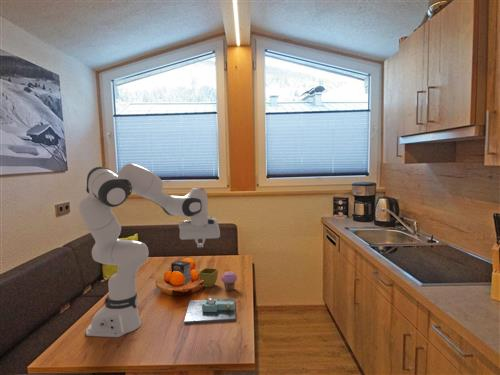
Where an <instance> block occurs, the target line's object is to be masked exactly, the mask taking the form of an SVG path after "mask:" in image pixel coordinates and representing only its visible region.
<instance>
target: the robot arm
mask: <svg viewBox="0 0 500 375" xmlns="http://www.w3.org/2000/svg"><path fill="white" fill-rule="evenodd" d="M163 184H164V183H163V180H162V179H161V178H160V177H159V176H158V174H155V173H154V172H152V171H151V170H149V169H147V168H146V167H143V166H141V165H138V164H135V163H132V162H131V163H126V164H125V165H123V166H122V167H121V168H120V170H118V172H115V173H114V172H113V171H112V170H111V169H110V168H107V167H104V166H96V167H94V168H92V169H90V170H89V172H88V173H87V177H86V190H85V191H86V192H87V194H88V196H87V197H85V198H83V199H82V200H81V201H80V203H79V205H78V209H79V210H78V211H79V214H80V215H81V218H82V221H83V222H84V225H85V226H86V228H87V229H88V231H89V232H90V234H91V236H92V237H93V239H94V241H95V242H94V245H93V246H92V249H91V257H92V259H93V261H95V262H97V263H99V264H103V265H108V266H109V265H110V266H116V267H117V269H116V270H117V272H115V273H114V274H112V275H111V276H110V277H109V279H108V280H107V283H108V294H107V295H106V297H105V299H104V301H103V305H104V306H102V307H101V308H100V309H98V310H97V312H95V314H94V315H93V317H92V319H91V323H90V324H89V325H88V326H87V327H86V330H85V335H86V336H87V337H103V338H104V337H105V338H107V337H108V338H121V337H123V336H124V335H126V334H128V333H132V332H133V331H135V330H136V329H137V330H138V328H139V327H141V325H142V321H141V318H140V315H139V311H138V303H139V302H138V294H137V292H136V291H137V290H136V276H137V273H138V270H139V268H140V267H142V265H144V264H145V263H146V262H147V259H148V258H149V254H150V253H149V247H148V246H147V244H146V243H145V242H142V241H138V240H133V239H131V240H130V239H121V238H119V236H120V234H121V232H122V225H121V224H120V221H118V218H117V217H116V215H115V213H114V211H113V210H112V208H116V207H119V206H121V205H122V204H124V203H125V202H126V201H127V199H128V198H129V196H130V195H131V194H132V193H134V194H136V195H138V196H140V197H142V198H144V199H147V200H149V201H151V202H153V203H154V204H156V205H158V206H159V207H160V208H161V209H162V210H163V212H164V213H165V214H166V215H168V216H174V217H175V216H177V217H186V218H187V217H189V218H190V220H181V221H180V222H179V223H178V229H179V239H180V240H184V241H185V240H194V242H195V243H196V245H197V248H204V245H205V242H206V239H219V238H220V237H221V231H220V226H219V224H218V218H217V217H213V216H209V212H208V204H209V203H208V202H209V201H208V194H207V190H205V189H203V188H197V187H196V188H193V187H192V188H191V189H190V191H189V192H188V193H187V194H186V195H183V196H182V195H181V196H180V195H173V194H172V195H171V194H166V192H164V191H163V186H164V185H163ZM199 240H201V241H202V243H201V242H200V243H199Z"/></svg>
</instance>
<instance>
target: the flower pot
mask: <svg viewBox="0 0 500 375" xmlns="http://www.w3.org/2000/svg"><path fill="white" fill-rule="evenodd" d="M218 274H219V269H218V268H211V267H204V268H203V269H202V270H200V271H199V272H198V278H199V281H200V280H204V281H205V282H204V288H212V287H213V286H215V285H216V283H217V280H218Z"/></svg>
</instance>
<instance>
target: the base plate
mask: <svg viewBox="0 0 500 375" xmlns="http://www.w3.org/2000/svg"><path fill="white" fill-rule="evenodd" d="M207 299H208V304H209V305H214V299H216V300H217V299H219V300H220V301H226V302H234V310H233V311H232V310H230V309H229V303H227V310H218V311H217V312H202V305H203V303H204V301H205V300H206V299H194V300H193V299H190V300H189V301H188V305H187V310H186V313H185V317H184V321H183V324H184V325H189V324H207V323H209V324H210V323H224V322H236V321H237V320H236V318H237V317H236V303H235V302H236V300H235V297H234V298H233V297H231V298H230V297H228V298H214V297H209V298H207Z"/></svg>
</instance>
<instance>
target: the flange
mask: <svg viewBox="0 0 500 375" xmlns="http://www.w3.org/2000/svg"><path fill="white" fill-rule="evenodd" d="M216 299H217V300H216ZM219 299H220V298H214V305H209V304H208V298H206V299H204V300H205V301H204V303H203V305H202V312H217V311H218V310H227V303H229V309H230V310H232V311H233V310H234V302H226V301H220V300H219Z"/></svg>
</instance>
